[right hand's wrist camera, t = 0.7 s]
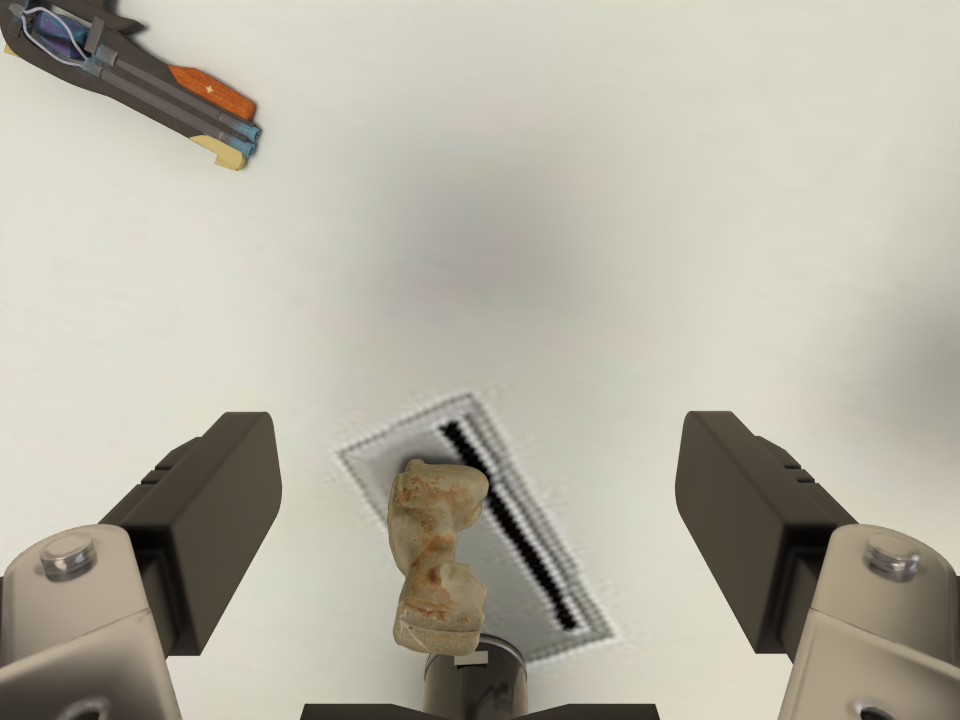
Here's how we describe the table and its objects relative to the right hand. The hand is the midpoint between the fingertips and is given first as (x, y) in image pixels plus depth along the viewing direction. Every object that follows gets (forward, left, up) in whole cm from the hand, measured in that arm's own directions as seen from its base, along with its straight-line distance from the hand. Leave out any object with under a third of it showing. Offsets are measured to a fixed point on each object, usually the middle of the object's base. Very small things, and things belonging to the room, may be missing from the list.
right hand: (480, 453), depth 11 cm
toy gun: (+10, +22, -29) cm, 38 cm away
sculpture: (-20, +1, -29) cm, 35 cm away
